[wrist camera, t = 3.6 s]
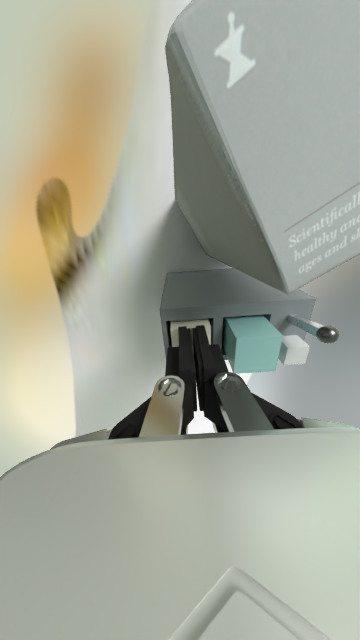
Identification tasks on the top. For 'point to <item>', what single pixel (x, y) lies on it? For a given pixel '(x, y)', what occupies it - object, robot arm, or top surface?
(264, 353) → the teal button
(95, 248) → the top surface
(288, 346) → the grey button
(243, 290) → the panel
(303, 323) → the metal lever
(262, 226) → the skincare box
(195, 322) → the cream button
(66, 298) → the top surface
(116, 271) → the top surface
